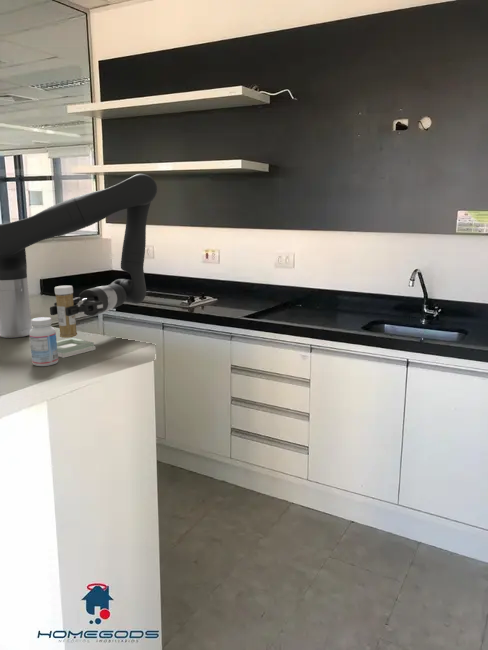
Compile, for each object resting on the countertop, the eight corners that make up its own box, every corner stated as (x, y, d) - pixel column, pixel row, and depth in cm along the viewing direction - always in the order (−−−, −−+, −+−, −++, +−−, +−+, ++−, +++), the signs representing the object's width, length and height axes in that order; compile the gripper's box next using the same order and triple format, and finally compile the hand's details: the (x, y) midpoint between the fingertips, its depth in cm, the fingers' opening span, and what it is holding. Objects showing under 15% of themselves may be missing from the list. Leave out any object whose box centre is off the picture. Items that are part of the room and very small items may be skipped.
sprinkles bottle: (79, 336, 145) (74, 286, 142) (62, 339, 143) (57, 288, 140) (74, 333, 149) (69, 284, 146) (57, 335, 147) (52, 286, 144)
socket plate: (41, 351, 146) (40, 344, 146) (73, 344, 154) (73, 337, 153) (63, 357, 140) (62, 350, 139) (95, 349, 147) (95, 342, 147)
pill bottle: (49, 358, 139) (45, 315, 137) (63, 362, 135) (59, 318, 133) (27, 364, 135) (22, 319, 132) (40, 368, 131) (36, 322, 128)
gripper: (76, 286, 159) (35, 296, 144) (118, 288, 154) (80, 298, 139) (78, 311, 161) (38, 324, 145) (120, 314, 156) (83, 327, 140)
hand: (59, 311), depth 142 cm, fingers closed on sprinkles bottle, 4 cm apart
